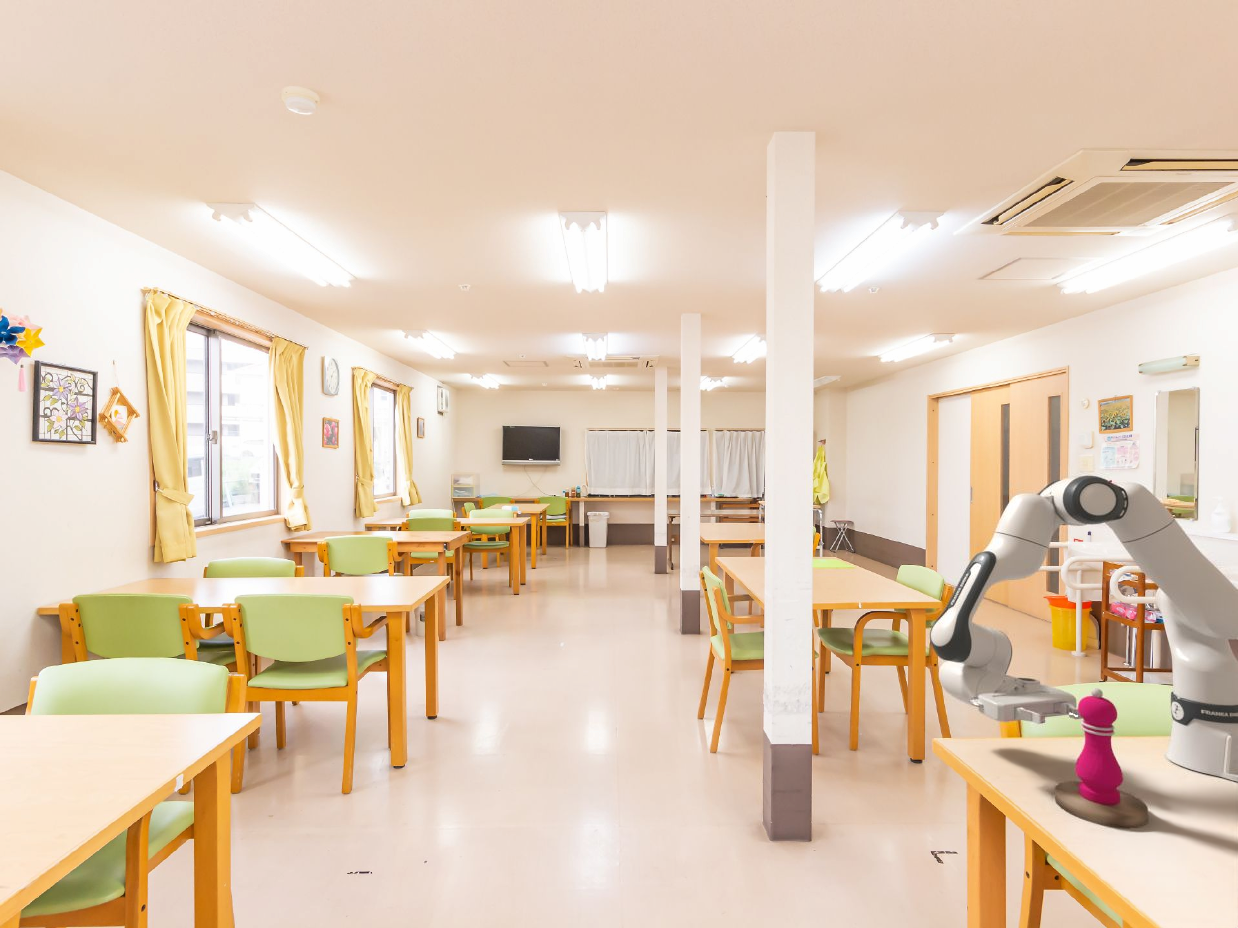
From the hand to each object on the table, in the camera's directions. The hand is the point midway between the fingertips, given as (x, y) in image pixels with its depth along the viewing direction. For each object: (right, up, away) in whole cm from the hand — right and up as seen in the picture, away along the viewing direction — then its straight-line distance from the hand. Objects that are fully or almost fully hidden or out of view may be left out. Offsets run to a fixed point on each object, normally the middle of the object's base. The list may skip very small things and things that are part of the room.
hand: (1061, 717), depth 133 cm
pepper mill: (+2, -12, -7) cm, 15 cm away
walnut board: (+2, -14, -8) cm, 16 cm away
